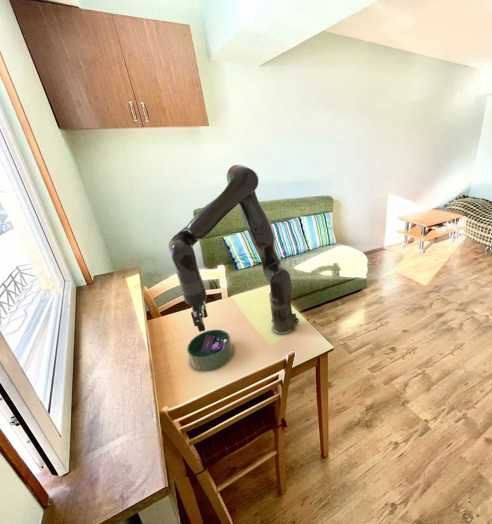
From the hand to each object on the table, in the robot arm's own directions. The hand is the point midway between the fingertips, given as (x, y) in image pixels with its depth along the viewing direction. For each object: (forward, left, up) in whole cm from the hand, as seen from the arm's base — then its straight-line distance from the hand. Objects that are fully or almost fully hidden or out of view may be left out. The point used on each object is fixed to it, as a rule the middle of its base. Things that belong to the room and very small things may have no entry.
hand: (203, 323), depth 109 cm
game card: (0, 0, -16) cm, 16 cm away
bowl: (0, 0, -17) cm, 17 cm away
